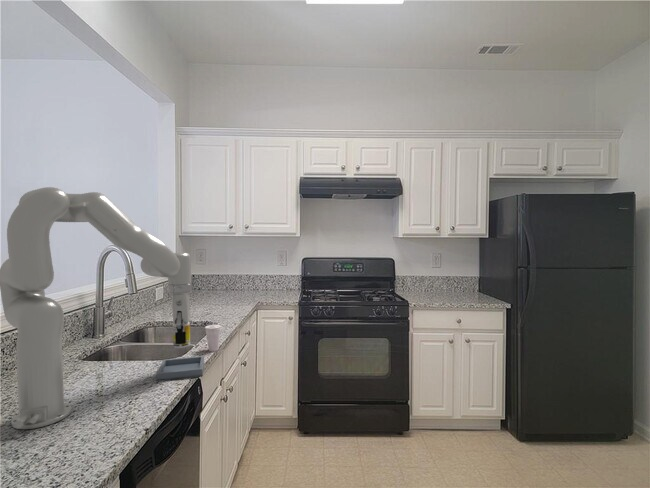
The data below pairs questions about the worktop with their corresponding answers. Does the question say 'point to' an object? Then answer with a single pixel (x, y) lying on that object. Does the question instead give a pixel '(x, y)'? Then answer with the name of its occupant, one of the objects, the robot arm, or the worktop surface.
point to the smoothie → (213, 336)
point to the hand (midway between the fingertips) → (181, 340)
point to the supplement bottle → (187, 329)
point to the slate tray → (181, 368)
